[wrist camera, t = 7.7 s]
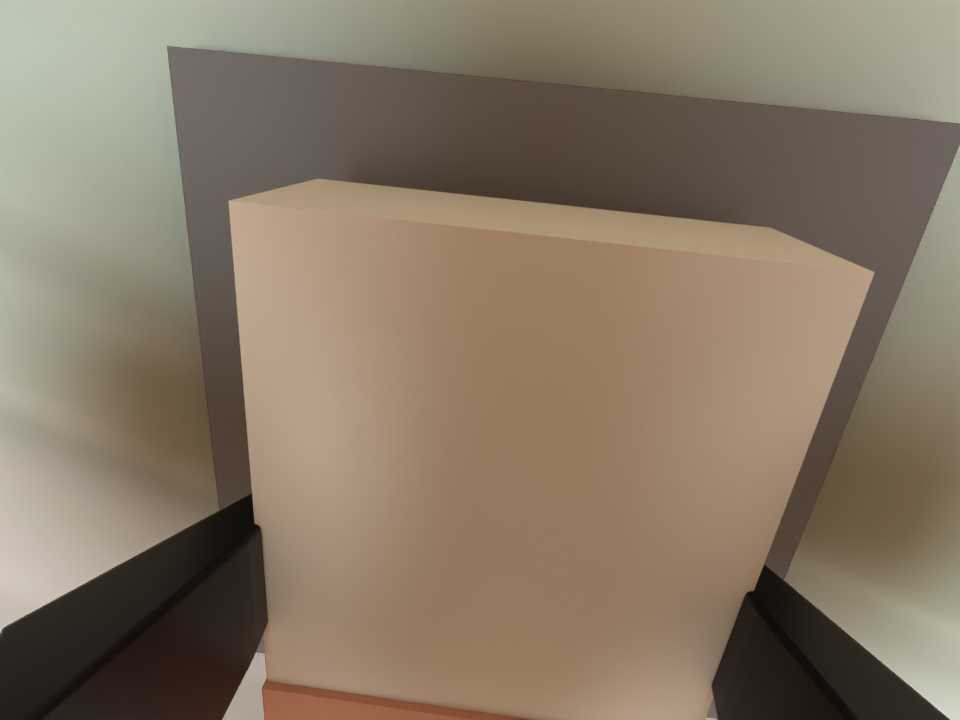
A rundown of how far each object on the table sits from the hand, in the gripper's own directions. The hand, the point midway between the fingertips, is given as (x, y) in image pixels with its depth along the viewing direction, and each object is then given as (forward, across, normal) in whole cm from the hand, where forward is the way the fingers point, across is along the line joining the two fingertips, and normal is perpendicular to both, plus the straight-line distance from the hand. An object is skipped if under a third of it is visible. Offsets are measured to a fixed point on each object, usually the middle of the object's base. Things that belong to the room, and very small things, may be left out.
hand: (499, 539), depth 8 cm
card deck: (+1, 0, 0) cm, 1 cm away
